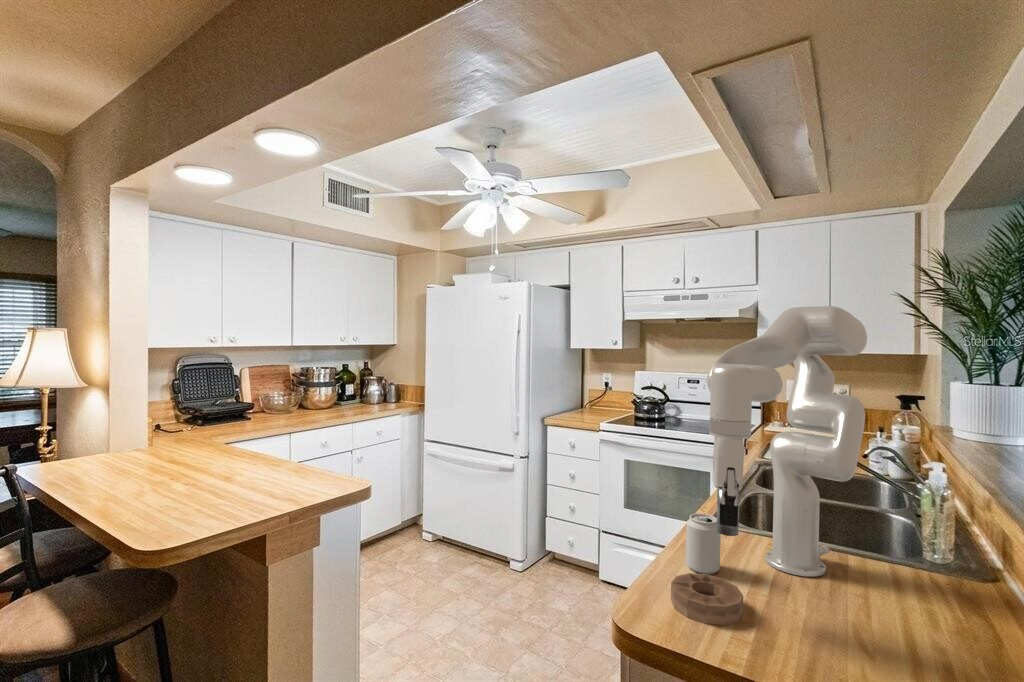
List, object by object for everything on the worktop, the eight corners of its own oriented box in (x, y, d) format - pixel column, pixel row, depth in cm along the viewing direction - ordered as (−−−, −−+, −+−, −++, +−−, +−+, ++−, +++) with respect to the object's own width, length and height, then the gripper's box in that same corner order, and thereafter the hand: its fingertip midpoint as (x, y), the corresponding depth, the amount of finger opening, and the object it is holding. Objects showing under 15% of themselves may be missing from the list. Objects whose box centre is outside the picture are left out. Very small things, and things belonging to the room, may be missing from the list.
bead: (705, 585, 109) (706, 569, 109) (756, 616, 97) (757, 598, 97) (658, 596, 104) (658, 580, 104) (706, 630, 92) (706, 611, 92)
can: (723, 577, 113) (724, 524, 113) (687, 574, 114) (689, 521, 114) (716, 563, 120) (717, 513, 120) (683, 559, 121) (684, 510, 121)
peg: (726, 527, 102) (727, 482, 102) (743, 534, 98) (744, 488, 98) (711, 530, 100) (713, 484, 100) (728, 537, 96) (729, 490, 96)
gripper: (707, 421, 108) (705, 506, 108) (711, 433, 92) (708, 533, 92) (746, 424, 106) (743, 511, 106) (756, 437, 90) (753, 539, 90)
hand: (727, 520), depth 99 cm, fingers closed on peg, 4 cm apart
